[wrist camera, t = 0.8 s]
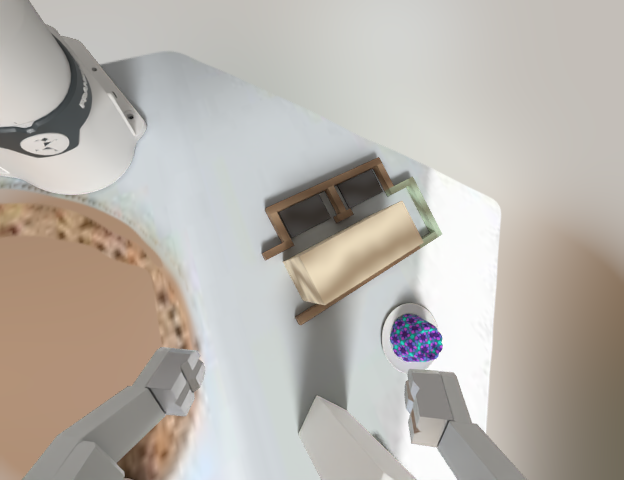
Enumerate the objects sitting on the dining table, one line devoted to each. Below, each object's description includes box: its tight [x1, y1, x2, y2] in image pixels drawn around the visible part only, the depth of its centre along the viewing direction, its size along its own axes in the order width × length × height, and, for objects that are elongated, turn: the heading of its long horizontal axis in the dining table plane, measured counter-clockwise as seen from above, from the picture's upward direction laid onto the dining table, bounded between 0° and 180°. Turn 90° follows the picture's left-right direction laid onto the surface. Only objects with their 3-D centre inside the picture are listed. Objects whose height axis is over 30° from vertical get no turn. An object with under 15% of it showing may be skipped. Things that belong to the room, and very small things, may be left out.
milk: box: [298, 395, 416, 480], centre depth 32 cm, size 6×6×22 cm
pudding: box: [382, 303, 442, 374], centre depth 47 cm, size 12×12×5 cm
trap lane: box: [262, 157, 442, 325], centre depth 48 cm, size 18×32×2 cm, turn 119°
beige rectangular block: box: [283, 201, 424, 305], centre depth 43 cm, size 7×18×10 cm, turn 119°
